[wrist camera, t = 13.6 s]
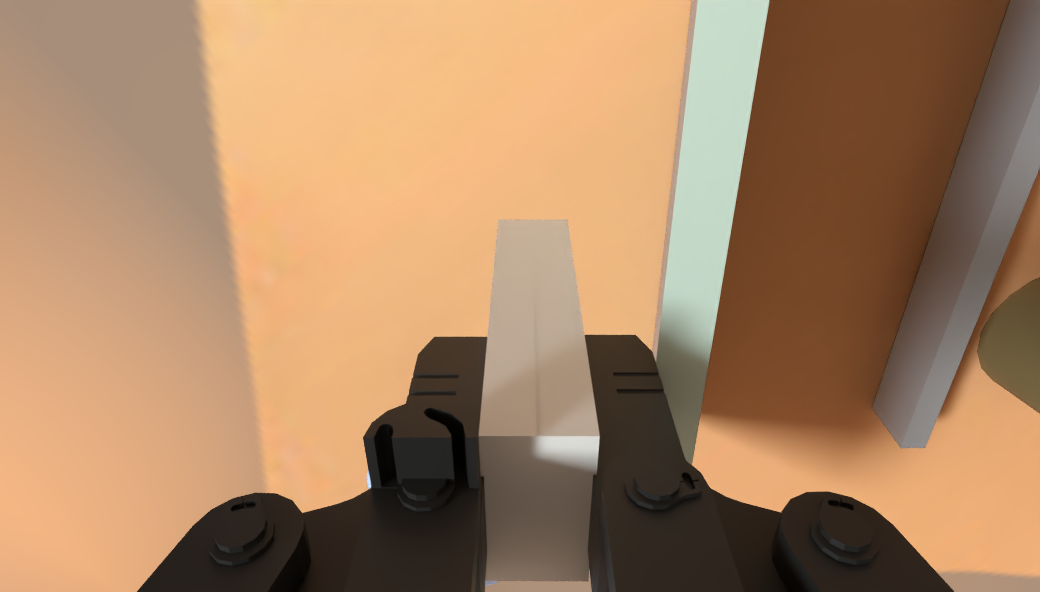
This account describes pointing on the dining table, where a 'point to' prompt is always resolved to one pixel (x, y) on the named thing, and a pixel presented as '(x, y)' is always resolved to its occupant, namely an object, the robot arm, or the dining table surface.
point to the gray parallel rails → (951, 229)
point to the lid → (706, 198)
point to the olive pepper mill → (1015, 345)
